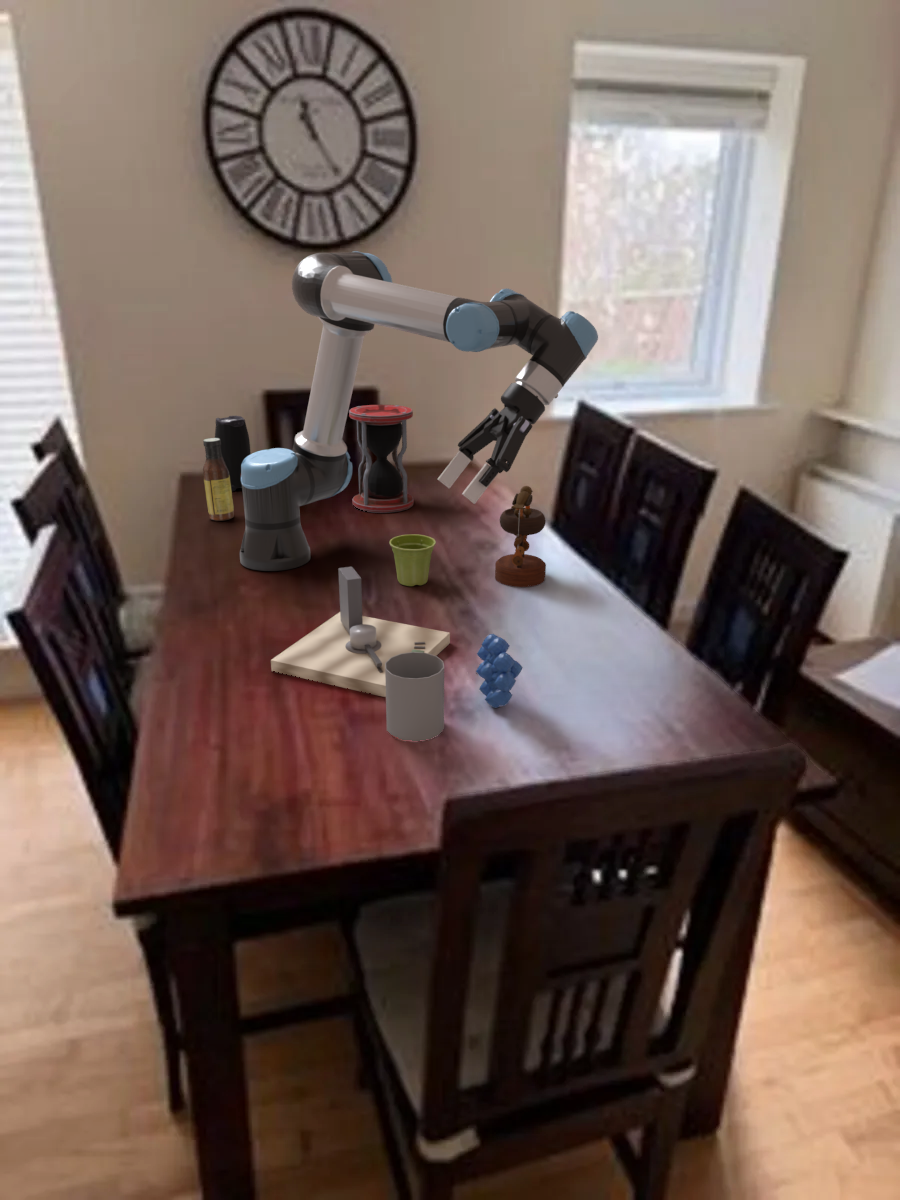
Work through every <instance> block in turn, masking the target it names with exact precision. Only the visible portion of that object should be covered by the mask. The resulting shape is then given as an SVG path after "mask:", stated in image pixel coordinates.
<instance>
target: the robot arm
mask: <svg viewBox="0 0 900 1200" xmlns="http://www.w3.org/2000/svg"><path fill="white" fill-rule="evenodd" d="M291 290H292V295H293V298H294V300H295V302H296V303H297V305H298V306H299V308H301V310H302V311H304V312H306V313H307V314H309V315H311V316H313V317H316V318H318V319H319V321H320V323H322V330H321V336H320V340H319V346H318V351H317V355H316V356H317V357H316V362H315V366H314V367H315V368H314V373H313V377H312V383H311V388H310V394H309V399H308V404H307V409H306V415H305V420H304V425H303V430H301V431H299V432H297V434H295V436H294V440H293V445H292V449H289V448H286V447H285V448H283V447H275V448H274V447H273V448H269V449H261V450H258V451H255V452H253V453H251V454H250V455H249V456H247V457H246V458H245V459H244V460H243V462H242V465H241V484H242V488H241V490H242V498H243V499H242V500H243V501H242V502H243V510H244V519H245V520H244V521H245V529H244V532H243V537H242V541H241V545H240V550H239V560H240V561H239V562H240V564H241V565H242V566H243V567H245V568H247V569H250V570H253V571H262V572H277V571H279V572H281V571H287V570H293V569H295V568H298V567H299V568H300V567H301V566H303V565H306V564H307V563H309V561H310V560H311V547H310V544H309V543H308V541H307V537H306V534H305V533H304V532H305V531H304V530H303V526H302V525H301V513H300V507H303V506H305V505H309V504H311V503H315V502H317V501H321V500H325V499H329V498H331V497H334V496H336V495H337V494H340V493H341V492H342V491H345V489H346V488H347V487H348V485H349V483H350V481H351V479H352V476H353V462H352V461H350V459H351V456H350V454H349V452H348V446H347V444H346V443H345V441H344V440H343V437H344V431H345V428H346V427H345V426H346V422H347V419H348V413H349V410H350V404H351V399H352V394H353V391H354V385H355V380H356V377H357V372H358V367H359V364H360V363H359V362H360V359H361V358H360V357H361V353H362V348H363V343H364V340H365V336H366V335H368V334H370V333H371V332H373V330H374V329H375V325H378V326H381V327H385V328H389V329H394V330H397V331H402V332H406V333H410V334H414V335H419V336H423V337H425V338H429V339H430V338H431V339H435V340H440V341H443V342H447V343H451V344H452V346H453V347H455V348H456V349H457V350H459V351H462V352H467V353H468V352H472V353H478V352H483V351H486V350H491V349H495V348H500V347H508V346H512V345H516V346H517V347H519V348H521V349H522V350H524V351H525V352H527V353H528V354H529V355H531V357H530V359H529V360H527V362H526V363H525V364H524V365H523V367H522V368H521V369H520V370H519V372H518V373H517V375H516V376H515V377H514V380H515V382H511V383H510V384H509V386H508V387H507V389H505V391H504V392H503V394H502V395H501V396H500V402H501V403H502V404H503V406H504V407H503V408H502V409H501V410H500V411H499V410H498V409H497V408H496V407H494V408H492V410H490V412H489V414H488V415H487V416H486V417H485V418H483V420H481V422H479V423H478V424H477V425H476V426H475V427H474V428H473V429H472V430H471V431H470V432H469V433H468V434H466V436H464V437H463V438H462V439H461V440H460V441H459V442H458V443H457V446H458V448H459V449H458V451H457V453H456V454H455V455H454V457H453V458H452V459H451V461H450V462H449V463H448V465H447V466H446V467H445V469H443V471H442V473H440V475H439V476H438V478H437V480H438V481H439V482H440V483H441V484H443V485H444V486H445V487H447V488H448V489H450V488H451V487H452V486H454V484H455V482H456V481H457V479H458V478H459V477H460V475H461V474H462V473H463V472H464V471H465V469H466V468H467V467H468V466H469V464H470V462H473V461H474V457H475V455H476V454H477V453H478V452H480V451H481V450H483V449H484V448H485V447H487V446H488V445H489V444H491V443H492V442H495V445H494V447H493V450H492V454H491V457H490V458H488V459H486V460H485V463H484V464H483V466H482V467H481V469H480V470H479V471H478V472H477V473H476V475H475V476H474V477H473V479H472V480H471V481H470V483H469V484H468V485H467V486H466V488H465V489H464V490H463V492H462V493H461V495H463V497H465V498H466V499H467V500H469V502H471V503H472V504H474V505H475V504H476V503H477V502H478V501H479V499H480V498H481V497H482V495H483V494H484V493H485V492H486V490H487V489H488V488H489V487H490V485H491V484H492V483H493V481H494V480H495V479H496V477H498V475H499V474H502V473H503V472H505V473H508V472H509V471H510V469H511V468H512V466H513V464H514V462H515V460H516V457H517V456H518V454H519V451H520V449H521V447H522V445H523V443H524V441H525V439H526V437H527V435H528V434H529V433H530V431H531V430H532V428H533V425H535V424H536V423H537V422H538V420H539V419H540V418H541V417H542V415H543V414H544V412H545V411H546V407H545V406H549V405H551V403H552V402H553V401H554V399H557V398H558V397H559V392H560V391H561V390H562V388H564V386H565V384H566V383H567V382H568V381H569V379H570V378H571V377H572V376H573V375H574V373H575V372H576V371H577V370H578V368H579V367H580V366H581V365H582V364H583V362H584V361H585V360H586V359H587V358H588V356H589V354H590V352H591V351H592V350H593V348H594V347H595V345H596V344H597V342H598V340H599V334H598V331H597V329H596V327H595V325H593V324H592V323H591V322H590V321H589V320H588V319H587V317H585V316H583V314H580V313H579V312H575V311H572V310H569V311H567V312H565V313H564V314H563V315H561V317H557V316H555V315H554V314H551V313H550V312H548V311H547V310H545V309H544V308H542V307H540V306H539V305H538V304H537V303H534V302H533V301H531V300H530V299H528V298H527V297H526V296H525V295H524V294H522V293H520V292H519V293H518V292H516V291H515V290H514V289H512V288H502V289H501V290H499V292H496V293H495V294H494V295H493V296H492V297H491V299H490V300H489V301H480V300H473V299H470V298H464V297H460V296H455V295H451V294H447V293H446V294H445V293H442V292H437V291H433V290H428V289H423V288H419V287H415V286H414V287H413V286H409V285H405V284H399V283H397V282H396V283H395V282H393V279H392V275H391V273H390V272H389V270H388V267H387V265H386V264H385V262H383V260H382V259H381V258H379V257H378V256H376V255H375V254H372V253H368V252H361V251H352V252H351V251H350V252H349V251H348V252H317V253H314V254H310V255H308V256H306V257H304V259H302V260H301V261H300V262H299V263H298V264H297V266H296V267H295V269H294V271H293V274H292V278H291Z"/></svg>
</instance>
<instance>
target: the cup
mask: <svg viewBox="0 0 900 1200" xmlns="http://www.w3.org/2000/svg"><path fill="white" fill-rule="evenodd" d="M385 678H386V697H385V707H386V708H385V709H386V711H385V713H386V715H385V716H386V720H385V721H386V732H387V731H388V732H389V733H390V734H391V735H393V736H395V737H398V738H399V739H402V740H412V741H420V740H426V739H431V738H433V737H435V736H437V735H439V734H440V733H441V732H442V733H443V731H444V730H443V729H445V664H444V661H443V660H442V659H441V658H440V657H438V655H437V656H435V655H431V654H428V653H420V652H410V653H402V654H399V655H396V656H393V657H391V658H390V659H389V660H388V661H387V662H386V663H385ZM442 730H443V731H442ZM388 732H387V733H388ZM389 733H388V734H389ZM442 733H441V734H442ZM390 734H389V735H390ZM441 734H440V735H441ZM391 735H390V736H391ZM440 735H439V736H440ZM437 737H438V736H437ZM435 738H436V737H435ZM399 739H398V740H399ZM433 739H434V738H433ZM431 740H432V739H431Z"/></svg>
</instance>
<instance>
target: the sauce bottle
mask: <svg viewBox="0 0 900 1200" xmlns="http://www.w3.org/2000/svg"><path fill="white" fill-rule="evenodd" d="M220 445H221V442H220V439H218V438H215V437H210V438H205V439H203V447H204V450H205V451H204V452H205V462H204V464H203V467H202V472H203V483H204V491H205V498H206V504H207V510H208V511H207V512H208V514H209V515H208V516H209V519H210V520H211V521H216V522H217V521H218V522H221V521H223V522H224V521H228V520H231V519H233V518H234V515H235V514H234V511H235V509H234V500H233V493H232V492H233V491H231V483H230V476H229V471H228V469H227V467H226V464H225V462H224V460H223V457H222V454H221V447H220Z"/></svg>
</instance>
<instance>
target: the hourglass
mask: <svg viewBox="0 0 900 1200" xmlns="http://www.w3.org/2000/svg"><path fill="white" fill-rule="evenodd" d="M413 411H414V410H413V409H412V408H411V407H408V406H405V405H404V406H403V405H399V404H396V405H395V404H369V405H368V404H367V405H358V406H355V407H352V408H349V409H348V413H349V415H348V417H349V418H350V419H352V420H354V421H356V431H357V432H356V433H357V435H356V436H357V442H358V443H357V444H358V446H359V448H360V450H361V454H362V458H361V462H360V463H359V465H358V492H359V493H358V494H356V495H354V496H353V498H352V499H351V500H352V501H351V502H352V506H353V505H354V506H355V507H356V508H358V509H360V510H359V511H361V510H363V511H362V512H365V511H367V512H368V513H374V514H375V513H376V514H377V513H378V514H387V513H397V512H402V511H405V510H408V509H410V508H412V507H413V506H414V504H415V502H414V499H415V498H414V497H413V495H411V494H410V493H408V474H407V471H406V470H405V468H404V464H403V456H404V454H405V453H406V452H407V447H408V445H407V443H408V442H407V440H408V439H407V438H408V437H407V436H408V435H407V432H408V431H407V421H408V420H410V419H412V418H413V416H414V414H413V413H414V412H413ZM400 442H401V444H402V445H401V450H400V452H399V453H398V448H399V445H400ZM368 449H369V450H368ZM369 451H370V452H372V454H374V456H375V457H376V460H375V461H374V462H373V461H372V460H373V459H372V457H371V454H370V453H369ZM390 454H391V458H392V461H393V463H394V465H395V466H394V465H393V464H392V463H391V462H390V461H389V460H388V456H389V455H390ZM365 464H366V465H365ZM364 467H365V470H364ZM355 507H354V508H355ZM356 508H355V509H356ZM358 509H357V510H358ZM367 512H366V513H367Z"/></svg>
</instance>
